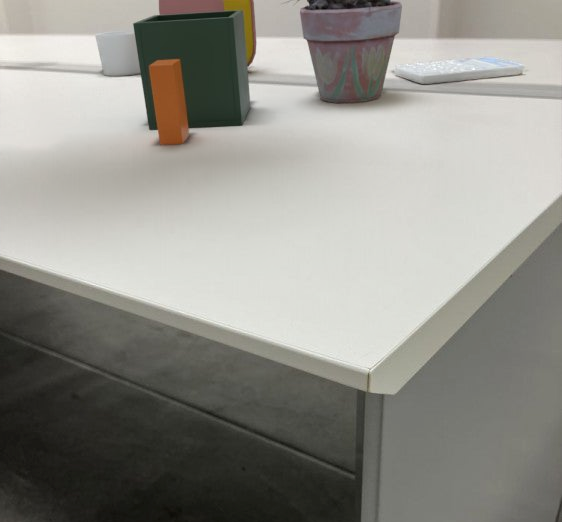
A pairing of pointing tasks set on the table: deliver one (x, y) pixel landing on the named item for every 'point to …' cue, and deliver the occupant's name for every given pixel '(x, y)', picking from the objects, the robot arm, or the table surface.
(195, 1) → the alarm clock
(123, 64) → the mug
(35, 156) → the table surface
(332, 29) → the potted plant
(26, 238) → the table surface
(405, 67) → the calculator
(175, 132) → the orange rectangular block
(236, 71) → the trash can
